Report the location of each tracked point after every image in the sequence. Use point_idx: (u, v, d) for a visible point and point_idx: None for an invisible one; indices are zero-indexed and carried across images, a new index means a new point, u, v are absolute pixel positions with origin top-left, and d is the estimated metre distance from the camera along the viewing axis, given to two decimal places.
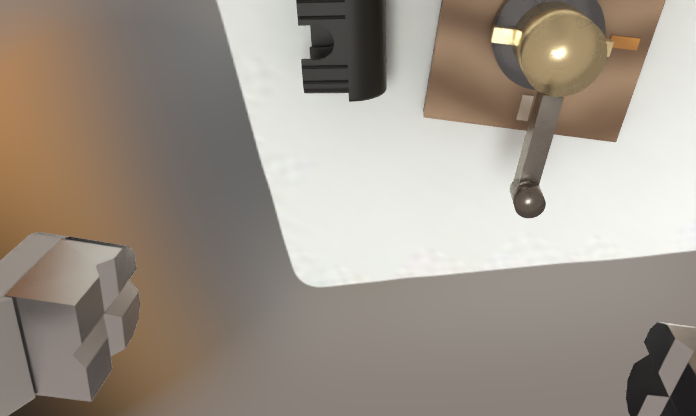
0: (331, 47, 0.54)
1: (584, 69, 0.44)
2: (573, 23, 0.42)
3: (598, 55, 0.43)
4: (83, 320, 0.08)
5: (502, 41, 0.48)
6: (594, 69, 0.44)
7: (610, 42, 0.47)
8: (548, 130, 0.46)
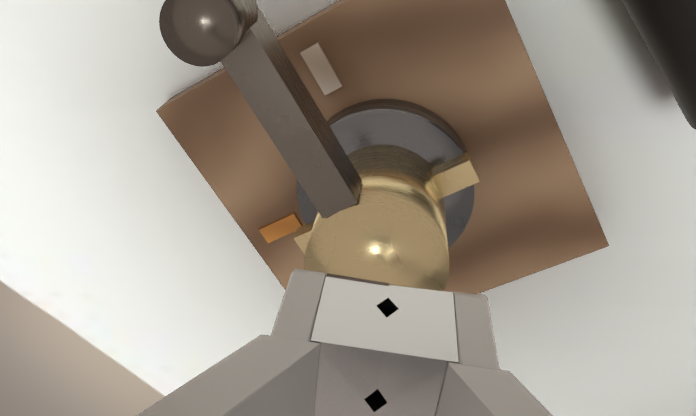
0: None
1: (334, 270, 0.25)
2: None
3: None
4: None
5: (453, 171, 0.27)
6: None
7: None
8: (296, 157, 0.22)
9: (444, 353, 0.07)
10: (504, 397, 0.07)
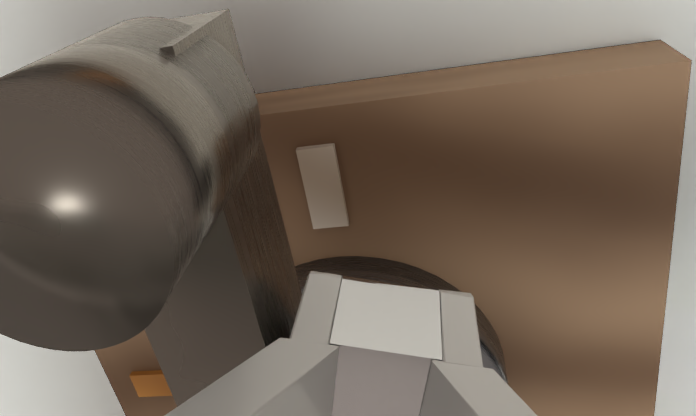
0: None
1: None
2: None
3: None
4: None
5: None
6: None
7: None
8: None
9: (428, 351, 0.07)
10: (487, 395, 0.07)
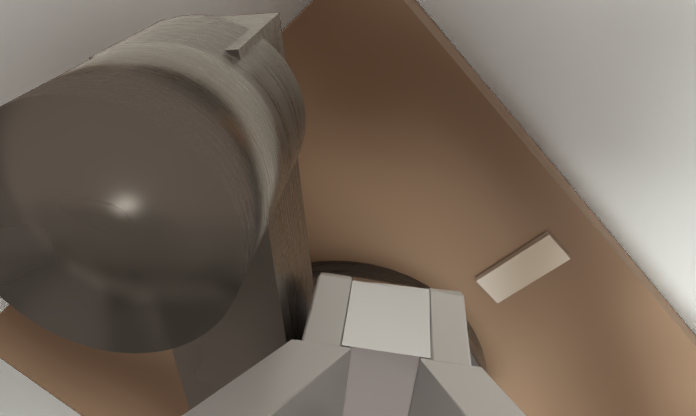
0: None
1: None
2: None
3: None
4: None
5: None
6: None
7: None
8: None
9: (417, 349, 0.07)
10: (475, 394, 0.07)
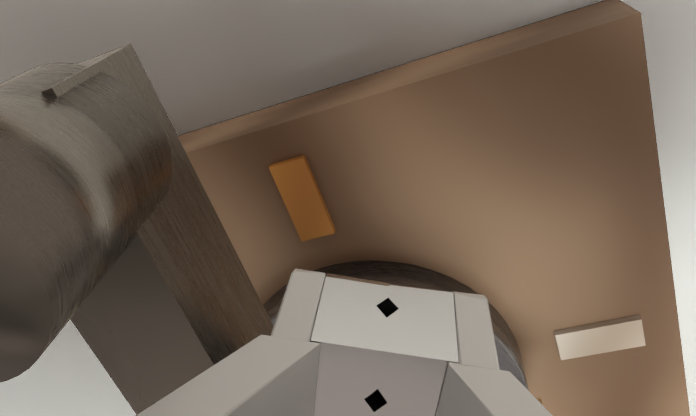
0: None
1: None
2: None
3: None
4: None
5: None
6: None
7: None
8: None
9: (444, 353, 0.07)
10: (505, 397, 0.07)
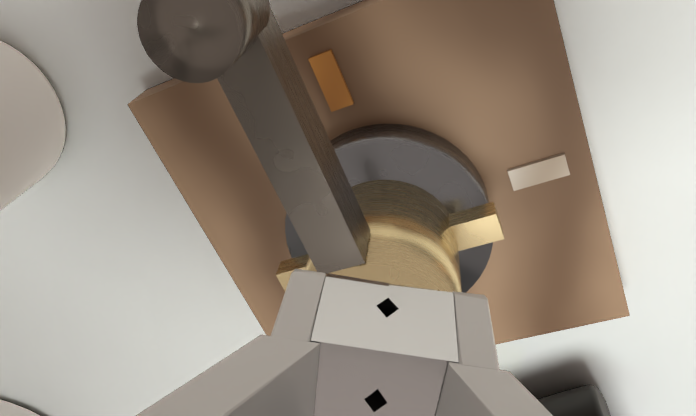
0: None
1: None
2: None
3: None
4: None
5: (474, 223, 0.23)
6: None
7: None
8: (296, 201, 0.18)
9: (444, 353, 0.07)
10: (505, 398, 0.07)
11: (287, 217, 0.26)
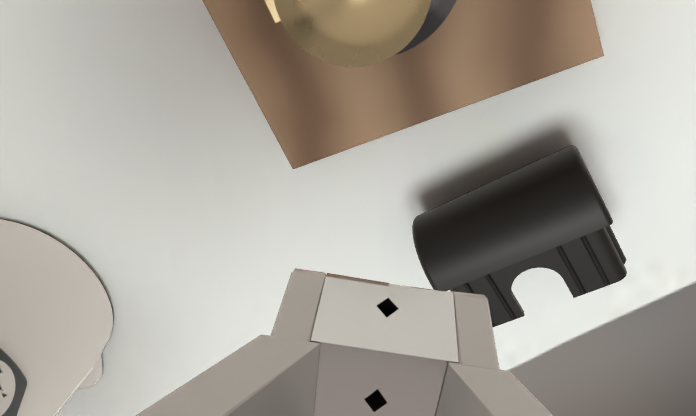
0: None
1: None
2: (377, 48, 0.23)
3: (300, 23, 0.23)
4: None
5: None
6: None
7: (279, 19, 0.27)
8: None
9: (444, 353, 0.07)
10: (505, 397, 0.07)
11: None
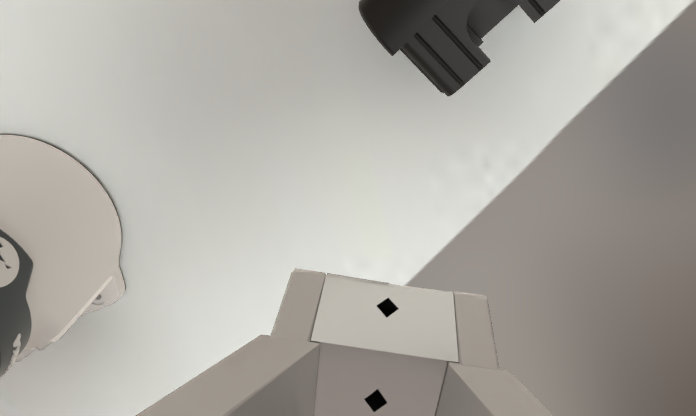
0: None
1: None
2: None
3: None
4: None
5: None
6: None
7: None
8: None
9: (444, 353, 0.07)
10: (505, 397, 0.07)
11: None
